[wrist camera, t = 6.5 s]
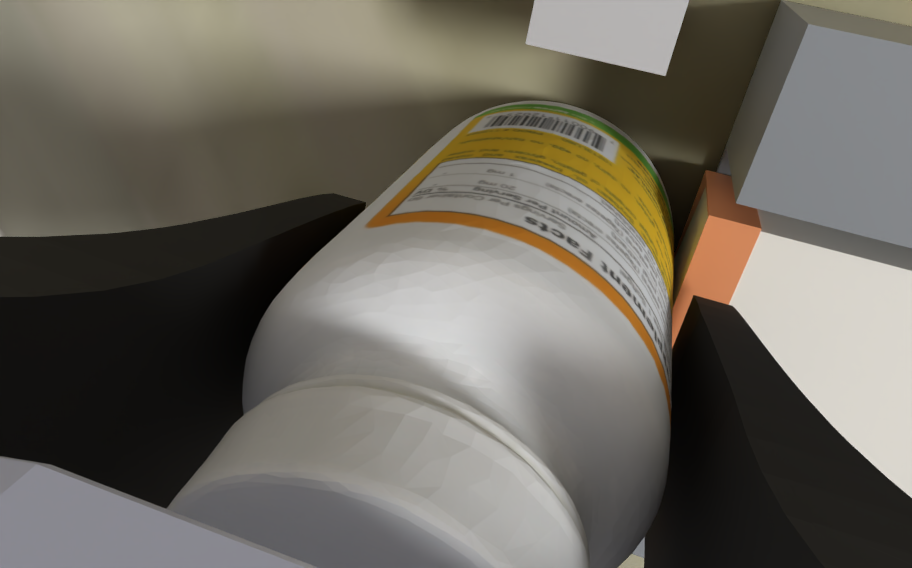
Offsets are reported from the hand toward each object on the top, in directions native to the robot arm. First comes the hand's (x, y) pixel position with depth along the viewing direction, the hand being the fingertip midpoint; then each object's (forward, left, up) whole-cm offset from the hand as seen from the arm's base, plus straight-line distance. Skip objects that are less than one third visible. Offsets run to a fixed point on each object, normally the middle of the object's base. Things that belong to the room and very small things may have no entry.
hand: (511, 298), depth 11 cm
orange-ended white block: (0, -6, -3) cm, 7 cm away
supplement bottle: (0, 0, -3) cm, 3 cm away
